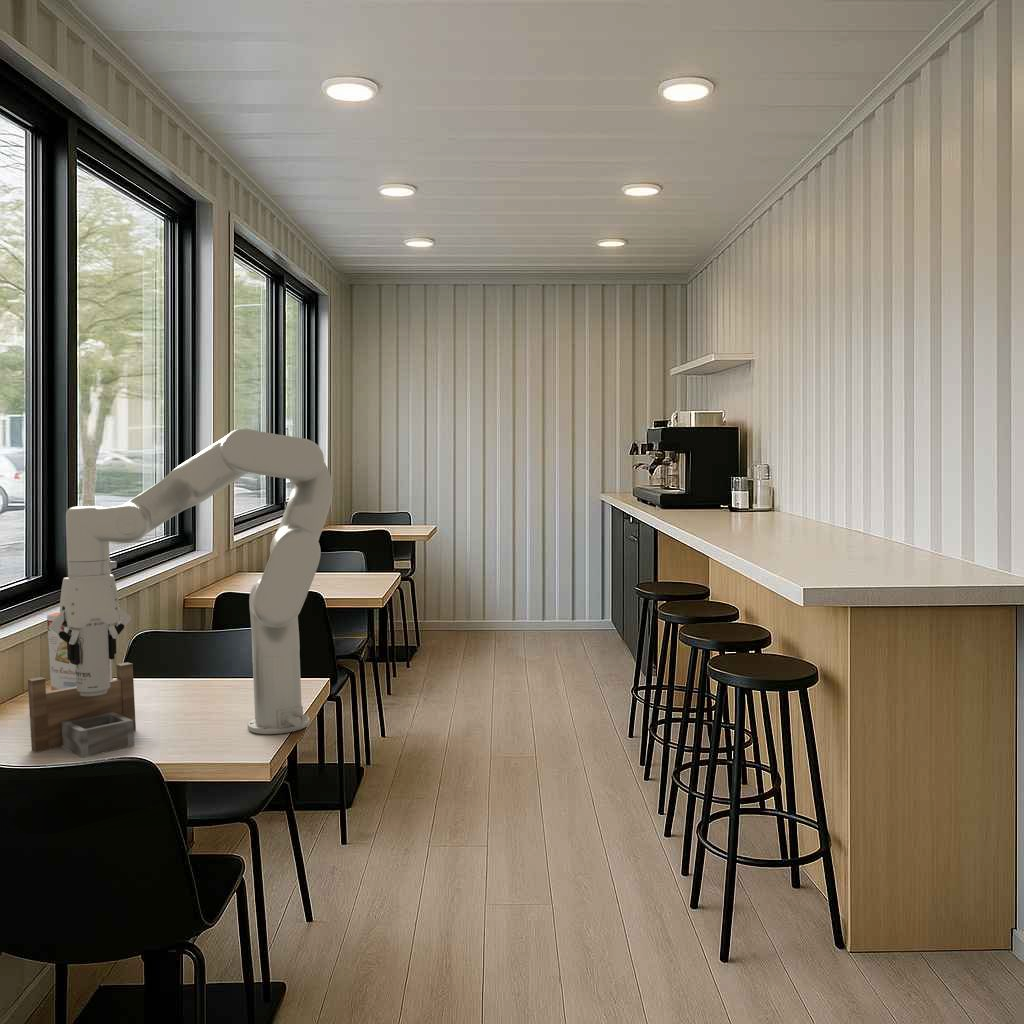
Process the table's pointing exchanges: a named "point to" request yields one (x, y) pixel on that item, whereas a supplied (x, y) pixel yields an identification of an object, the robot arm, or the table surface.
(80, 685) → the energy drink can
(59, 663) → the cracker box
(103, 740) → the wooden holder with tray
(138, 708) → the table surface
